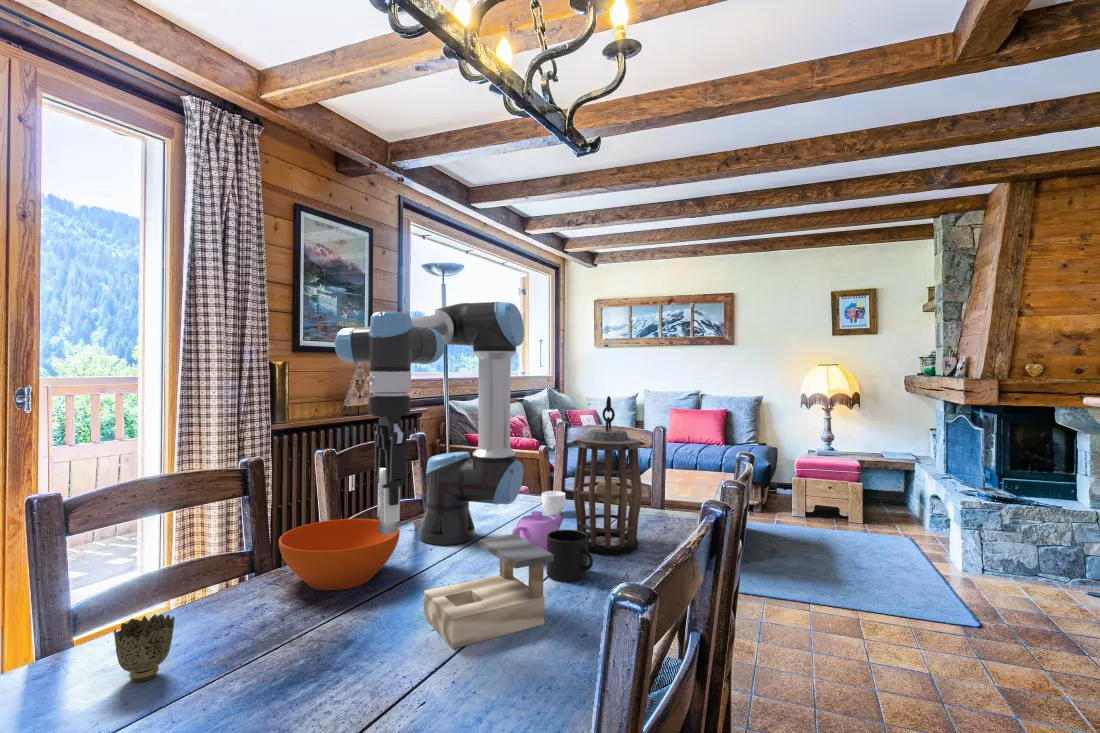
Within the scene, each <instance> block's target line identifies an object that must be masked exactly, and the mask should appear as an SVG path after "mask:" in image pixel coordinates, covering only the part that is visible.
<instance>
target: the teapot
mask: <svg viewBox="0 0 1100 733" xmlns="http://www.w3.org/2000/svg"><path fill="white" fill-rule="evenodd" d="M563 521H564V516H562V515H558V514H556V516H554V518H552V516H549V515H545V514H544V515H543V512H542V511H540V510H539V511H538V510H535V511H532V512H531V515H525V516H522V517H521V518H520V519H519V520H518V522H517V523H516V525H515V526H514V527H513V528H512V533H511V535H512V534H515V535H517V536H519V537H521V538H523V539H525V540H527V541H529V542H531V543H532V544H534V545H536V546H538V547H540V548H542V549H544V550H546V551H547V535H548V534H549V533H550V532H553V531H557V530H560V527H561V526H562V523H563Z"/></svg>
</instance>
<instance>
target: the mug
mask: <svg viewBox="0 0 1100 733" xmlns="http://www.w3.org/2000/svg"><path fill="white" fill-rule="evenodd" d="M547 551H548V552H550V553H551V554H553V555H554V556H553V561H551V562H546V575H547V577H548V578H550V579H551V580H554V581H557V582H563V583H572V582H573V583H575V582H580V581H583V580H585V579H587V577H588V575H589V570H591V568H592V567H593V564H594V558H593V556H592V553H590V552H589V551H588V535H587V534H586V533H584V532H581V531H577V529H576V530H575V529H559V530H557V531H553V532H550V533H549V534H548V535H547Z"/></svg>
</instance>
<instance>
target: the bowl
mask: <svg viewBox="0 0 1100 733" xmlns="http://www.w3.org/2000/svg"><path fill="white" fill-rule="evenodd" d="M400 532H401V531H400V528H399V527H398V532H397V533H394V534H388V535H384V534H379V533H378V519H372V518H341V519H330V520H322V521H318V522H317V521H316V522H312V523H308V524H307V523H306V524H303V525H301V526H297V527H294V528H292V529H290V530H288V531H286V532H284V533H283V534H281V536H280V537H279V538H278V539H279V540H278V548H279V552H280V554H281V557H282V559H283V560H284V562H285V563H286V565H287V567H288V568H289V569H290V570H291V572H293V573H294V575H296V576H297V577H298V578H299V579H301V580H302V581H303V582H304V583H305V584H307V585H308V586H309V587H310V588H312V589H315V590H321V591H338V590H341V591H342V590H346V589H351V588H355V587H359V586H361V585H364V584H366V583H368V582H369V581H371V579H373V577H374V576H375V575H376V574H377V573H378V572H379V571H380V570H382V569H381V568H383V567H384V565H386V563H387V562H388V561H389V559H390V558H391V556H392V555H393V552H394V551H395V550H396V548H397V545H398V543H399V540H400V539H399V538H400V535H401V533H400Z"/></svg>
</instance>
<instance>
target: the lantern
mask: <svg viewBox="0 0 1100 733" xmlns="http://www.w3.org/2000/svg"><path fill="white" fill-rule="evenodd" d="M606 412H607V413H610V412H611V417H610V416H607V417H606ZM601 415H602V419H603V420H604V422H605V428H596V429H590V431H589V434H588V436H581V437H577V439H575V440H572V441H571V443H572V444H575V445H577V447H578V450H577V460H576V461H577V462H576V469H575V473H574V482H573V503H574V511H575V518H576V531H581V532H584V533H586V534H587V535H588V551H589V552H590V553H591V555H592V554H593V555H598V556H614V557H615V556H616V557H617V556H623V555H629V554H632V553H634V552H635V551H638V550H639V541H638V538H637V537H638V525H639V516H640V512H641V506H642V499H643V498H642V497H643V490H642V478H641V471H640V462H639V449H640V447H641V446H643V445H646V443H645V442H642V440H639V439H638V438H634V437H629V436H628V433H627V431H626V430H624V429H617V428H615V429H614V428H612V422H613V420H614V419H615V415H616V414H615V410H614V409H613V407H612V400H611V396H610V395H608V396H607V398H606V405H605V407H604V408H603V410H602V414H601ZM588 450H591V455H590V461H588V460H587V458H588V457H587V456H588ZM598 451H604V460H602V461H599V460H598V454H599V453H598ZM613 451H617V461H612V460H613V459H612V458H613ZM626 451H627V452H628V455H627V452H626ZM627 456H628V463H627ZM599 465H604V469H598V466H599ZM587 466H590V468H589V467H587ZM612 466H617V467H618V469H617V470H612V468H613V467H612ZM586 473H589V474H590V475H589V481H588V482H585V480H586V479H585V477H586ZM597 474H598V475H604V481H599V482H598V481H596V480H597ZM627 474H629V475H630V476H629V477H630V484H627V483H628V482H627V481H628V479H627ZM612 475H618V477H619V478H618V480H619V482H613V481H612ZM587 487H588V491H584V490H585V488H587ZM628 489H630V492H629V493H628ZM585 497H588V509H589V510H588V511H589V514H588V515H586V505H585V504H586V501H585ZM596 499H597V500H599V501H600V502H602V503H603V513H599V514H596ZM628 499H630V500H629V507H628ZM611 504H613V505H617V514H612V509H611V508H612V505H611ZM628 508H629V509H628ZM627 510H628V511H627ZM627 512H628V514H627ZM600 518H603V528H602V527H597V522H596V520H597V519H600ZM612 519H616V528H612ZM587 520H589V525H587ZM626 522H627V525H626ZM587 530H588V531H587Z"/></svg>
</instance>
